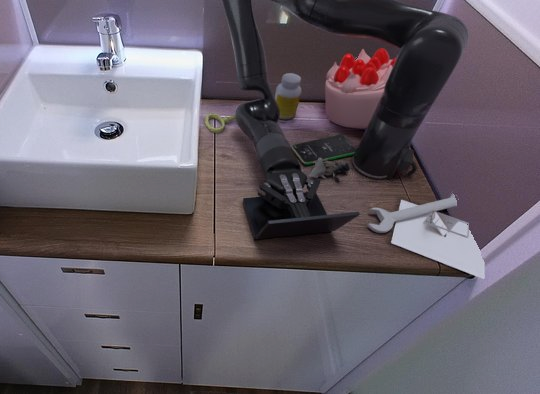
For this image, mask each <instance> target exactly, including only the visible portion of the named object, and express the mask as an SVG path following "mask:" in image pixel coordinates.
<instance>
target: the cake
mask: <svg viewBox="0 0 540 394" xmlns="http://www.w3.org/2000/svg"><path fill="white" fill-rule="evenodd" d="M358 55H359V56H358ZM358 55H357V56H358V58H357V57H354V55H353V54H352V53H346V54H344V56H343V57H342V58H341V60H340V63H339V65H338V64H337V61H334V62H333V65H332V67H331V68H329V70H328V71H327V73H326V74H325V75H326V76H325V78H326V80H325V83H324V86H325V87H324V89H325V90H324V93H325V94H324V95H325V96H324V97H325V100H324V101H325V115H326V117H327V118H328V119H329V120H330V121H331V122H332V123H333V124H336V125H338V126H341V127H344V128H350V129H351V128H352V129H360V128H367V126H368V124H369V122H370V120H371V118H372V115H373V113H374V111H375V109H376V107H377V104H378V102H379V100H380V98H381V96H382V94H383V91H384V87H385V84H386V82H387V79H388V77H389V75H390V73H391V70H392V68H393V66H394V63H395V61H396V59H397V57H398V55H397V56H396V57H395V58H393V59H390V55H389V52H388V51H387V50H386V49H385V48H382V47H381V48H378V49H377V50H376V51H375V52H374V54H373V56H372V57H370V56H369V55H368V54H367V52H366V51H365V49H364V48H362V49H361V51H360V52H359V54H358ZM356 58H357V59H356ZM355 59H356V60H355Z"/></svg>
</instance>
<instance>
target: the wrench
mask: <svg viewBox="0 0 540 394" xmlns="http://www.w3.org/2000/svg"><path fill="white" fill-rule="evenodd" d="M451 193H452V192H451ZM451 193H450V196H449V197H447V198H443V199H439V200H435V201H431V202H427V203H423V204H418V205H419V206H415V207H411V208H407V209H403V210H399V209H398V210H396V211H387V210H386V209H384V208H381V207H372V208H369V209H368V212H371V213H373V214H376V216H377V218H378V220H379V224H376V223H369V222H368V223H367V224H366V226H367V227H368V228H369V230H370V231H373V232H375V233H377V234H385V233H388V232H389V231H391V229H392V228H393V227H394V224H395V223H396V221H399V220H403V219H407V218H411V217H415V216H419V215H422V214H426V213H430V212H431V211H432V210H433V211H436V212H439V211H442V210H446V209H451V208H455V207H457V200H456V198H455V195H454V194H453V193H452V194H451Z"/></svg>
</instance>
